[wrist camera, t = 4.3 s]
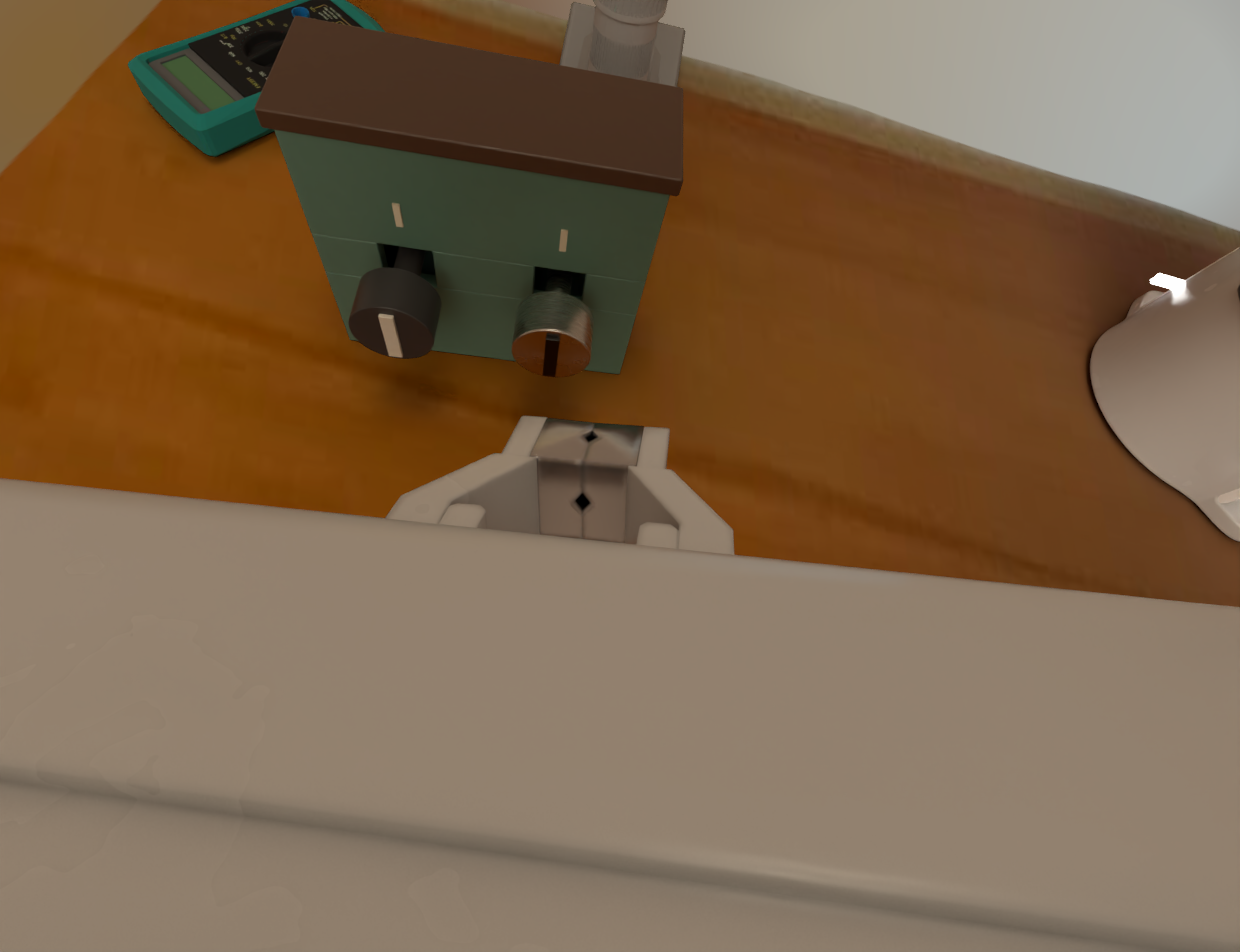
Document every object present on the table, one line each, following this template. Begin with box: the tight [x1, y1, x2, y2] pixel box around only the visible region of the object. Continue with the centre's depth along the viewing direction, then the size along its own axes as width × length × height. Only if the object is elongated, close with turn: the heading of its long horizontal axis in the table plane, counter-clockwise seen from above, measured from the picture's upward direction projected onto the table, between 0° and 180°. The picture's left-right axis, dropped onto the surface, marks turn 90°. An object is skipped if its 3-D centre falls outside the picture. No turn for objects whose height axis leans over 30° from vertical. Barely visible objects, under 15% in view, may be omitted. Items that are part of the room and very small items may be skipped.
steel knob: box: [511, 268, 594, 377], centre depth 30 cm, size 6×4×4 cm, turn 177°
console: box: [255, 16, 683, 374], centre depth 31 cm, size 6×16×14 cm, turn 87°
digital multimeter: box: [128, 0, 385, 157], centre depth 41 cm, size 7×15×3 cm, turn 137°
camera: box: [560, 0, 685, 87], centre depth 41 cm, size 9×12×15 cm
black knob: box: [348, 246, 442, 359], centre depth 29 cm, size 6×4×4 cm, turn 177°
